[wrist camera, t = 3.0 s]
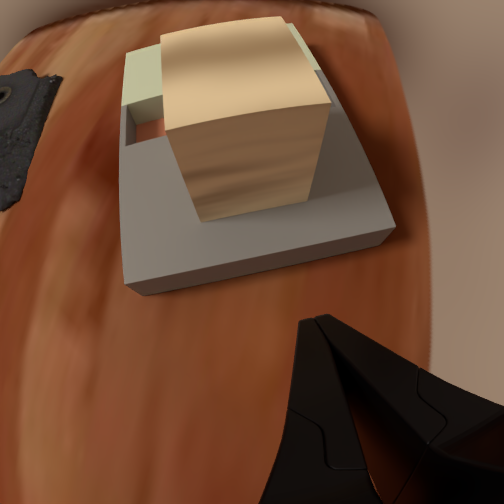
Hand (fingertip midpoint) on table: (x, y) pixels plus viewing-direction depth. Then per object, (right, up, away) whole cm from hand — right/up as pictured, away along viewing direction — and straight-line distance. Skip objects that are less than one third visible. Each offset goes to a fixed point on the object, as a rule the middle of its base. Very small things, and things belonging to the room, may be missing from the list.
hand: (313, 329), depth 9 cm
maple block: (-2, +8, +13) cm, 16 cm away
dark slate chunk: (-33, +15, +21) cm, 42 cm away
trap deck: (-3, +12, +19) cm, 22 cm away
